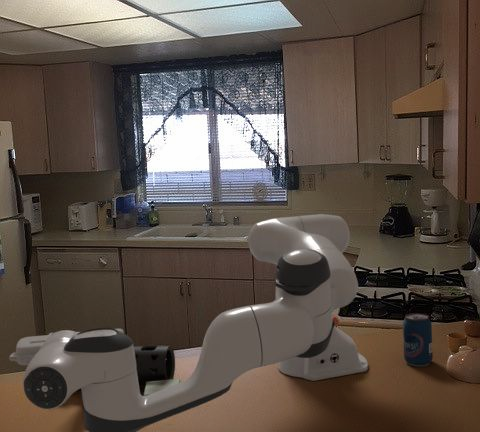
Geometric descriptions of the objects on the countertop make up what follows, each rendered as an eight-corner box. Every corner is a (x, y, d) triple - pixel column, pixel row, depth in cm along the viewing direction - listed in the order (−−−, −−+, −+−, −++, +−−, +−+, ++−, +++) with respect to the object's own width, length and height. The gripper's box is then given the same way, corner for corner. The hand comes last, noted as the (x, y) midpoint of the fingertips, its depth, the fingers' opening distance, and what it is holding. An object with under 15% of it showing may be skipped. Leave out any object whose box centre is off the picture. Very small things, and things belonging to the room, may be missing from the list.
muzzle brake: (167, 394, 137) (163, 352, 136) (55, 395, 142) (51, 354, 141) (177, 379, 147) (173, 339, 146) (72, 380, 151) (68, 341, 150)
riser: (180, 392, 138) (179, 378, 137) (180, 406, 130) (179, 391, 129) (146, 395, 137) (145, 381, 137) (144, 410, 129) (143, 395, 129)
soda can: (399, 364, 146) (397, 317, 145) (411, 355, 152) (409, 311, 150) (426, 369, 142) (424, 321, 141) (437, 360, 147) (435, 314, 146)
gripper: (8, 378, 106) (27, 353, 120) (121, 367, 108) (127, 344, 122) (4, 344, 105) (24, 323, 119) (118, 334, 107) (125, 314, 121)
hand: (77, 334), depth 120 cm, fingers open, 8 cm apart
